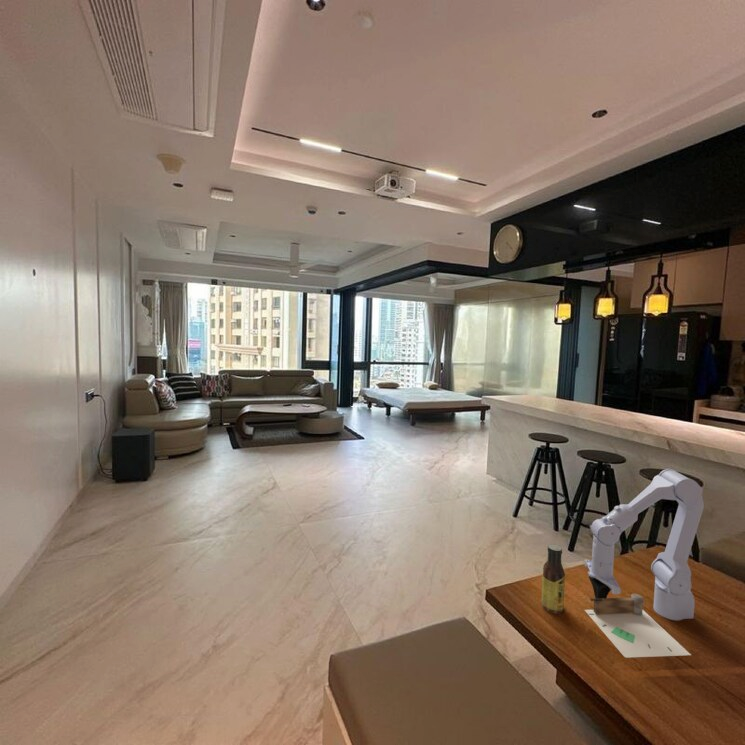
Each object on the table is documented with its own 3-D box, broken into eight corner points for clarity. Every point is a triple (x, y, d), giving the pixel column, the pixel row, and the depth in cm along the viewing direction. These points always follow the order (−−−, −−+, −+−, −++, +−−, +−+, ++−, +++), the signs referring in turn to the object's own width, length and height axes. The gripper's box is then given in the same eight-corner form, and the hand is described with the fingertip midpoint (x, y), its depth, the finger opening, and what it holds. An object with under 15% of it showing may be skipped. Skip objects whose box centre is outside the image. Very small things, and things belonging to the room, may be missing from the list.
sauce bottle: (562, 619, 117) (565, 556, 115) (539, 611, 120) (542, 549, 118) (564, 606, 122) (567, 546, 120) (542, 599, 125) (545, 540, 124)
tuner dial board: (640, 611, 120) (640, 607, 120) (691, 658, 102) (691, 654, 102) (584, 612, 119) (584, 609, 119) (624, 661, 102) (625, 657, 101)
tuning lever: (637, 607, 120) (638, 593, 119) (644, 614, 117) (645, 600, 116) (586, 609, 119) (587, 595, 118) (592, 616, 116) (593, 601, 115)
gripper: (576, 547, 127) (574, 586, 128) (605, 574, 113) (602, 618, 114) (597, 546, 127) (595, 586, 129) (628, 573, 113) (625, 617, 114)
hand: (600, 601), depth 121 cm, fingers closed
